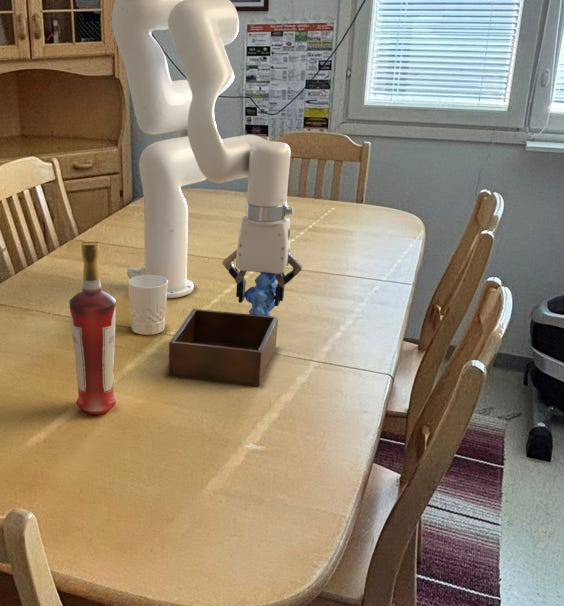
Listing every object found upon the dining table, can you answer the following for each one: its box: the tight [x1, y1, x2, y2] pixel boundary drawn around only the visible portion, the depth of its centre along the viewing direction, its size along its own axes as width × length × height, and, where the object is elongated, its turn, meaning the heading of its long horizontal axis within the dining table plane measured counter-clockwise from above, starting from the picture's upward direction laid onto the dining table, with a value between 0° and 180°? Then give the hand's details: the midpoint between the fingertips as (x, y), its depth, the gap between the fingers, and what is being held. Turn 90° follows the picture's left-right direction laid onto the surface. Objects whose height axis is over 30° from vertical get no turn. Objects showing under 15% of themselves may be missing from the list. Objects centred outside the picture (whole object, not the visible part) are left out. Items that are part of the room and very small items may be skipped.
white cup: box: [127, 275, 168, 336], centre depth 172 cm, size 8×8×10 cm
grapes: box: [244, 272, 278, 316], centre depth 173 cm, size 12×7×12 cm, turn 154°
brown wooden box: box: [168, 308, 279, 387], centre depth 159 cm, size 17×18×6 cm
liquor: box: [68, 239, 118, 416], centre depth 137 cm, size 7×7×28 cm
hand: (259, 301), depth 174 cm, fingers closed on grapes, 6 cm apart
